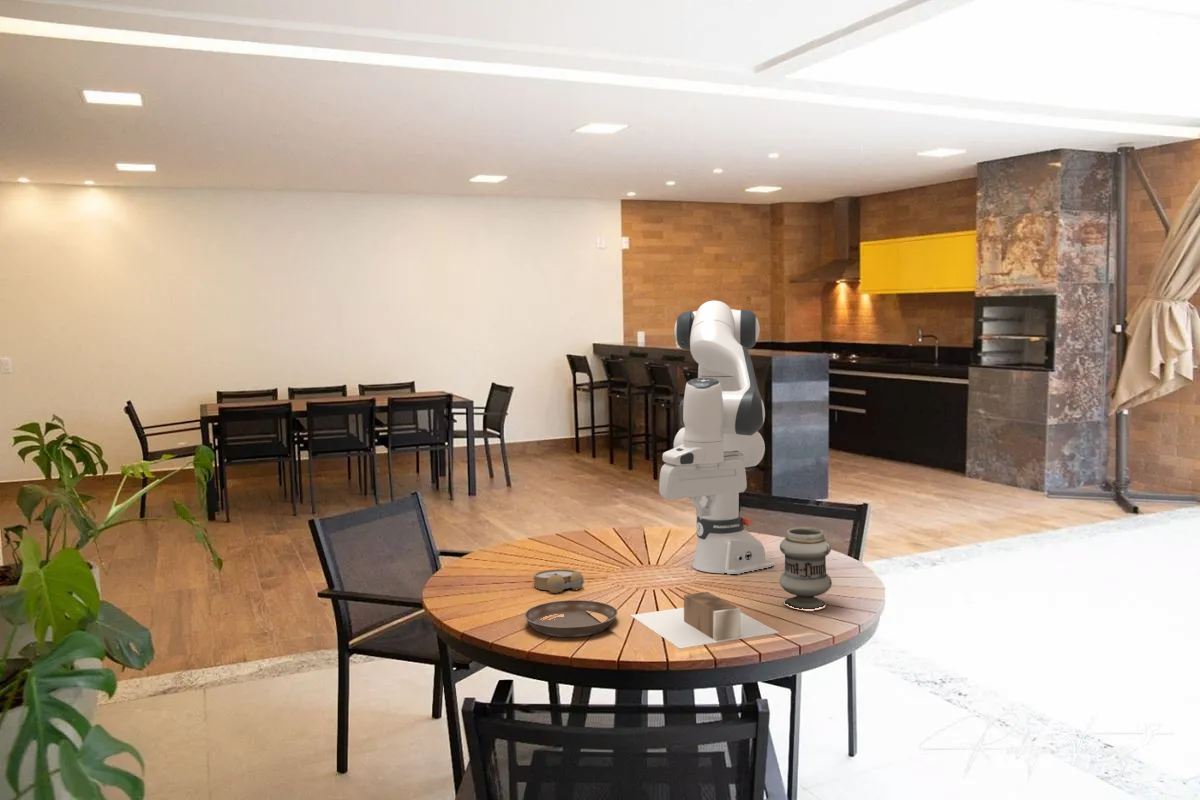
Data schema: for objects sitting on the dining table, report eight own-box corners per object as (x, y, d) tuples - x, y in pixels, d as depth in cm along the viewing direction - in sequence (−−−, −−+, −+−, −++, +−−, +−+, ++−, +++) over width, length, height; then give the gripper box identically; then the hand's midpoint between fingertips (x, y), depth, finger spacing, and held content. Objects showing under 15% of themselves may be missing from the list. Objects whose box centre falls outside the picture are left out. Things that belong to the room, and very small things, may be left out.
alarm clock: (563, 567, 246) (591, 569, 233) (565, 586, 245) (593, 589, 232) (525, 573, 240) (552, 576, 227) (527, 592, 239) (554, 596, 227)
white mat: (722, 605, 220) (721, 602, 220) (779, 636, 198) (779, 632, 198) (630, 618, 210) (630, 615, 210) (679, 652, 188) (679, 648, 188)
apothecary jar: (769, 601, 222) (769, 527, 221) (810, 595, 227) (811, 523, 226) (799, 615, 211) (799, 538, 210) (842, 609, 216) (842, 533, 215)
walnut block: (707, 591, 207) (740, 608, 194) (707, 617, 208) (740, 636, 195) (683, 594, 205) (715, 612, 192) (684, 621, 205) (715, 640, 193)
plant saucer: (512, 619, 211) (512, 605, 211) (595, 608, 219) (595, 594, 219) (543, 647, 192) (543, 632, 192) (633, 633, 201) (633, 618, 200)
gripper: (737, 448, 208) (737, 508, 209) (655, 454, 200) (656, 517, 201) (752, 451, 202) (752, 513, 203) (669, 458, 194) (669, 523, 195)
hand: (703, 515), depth 202 cm, fingers closed
